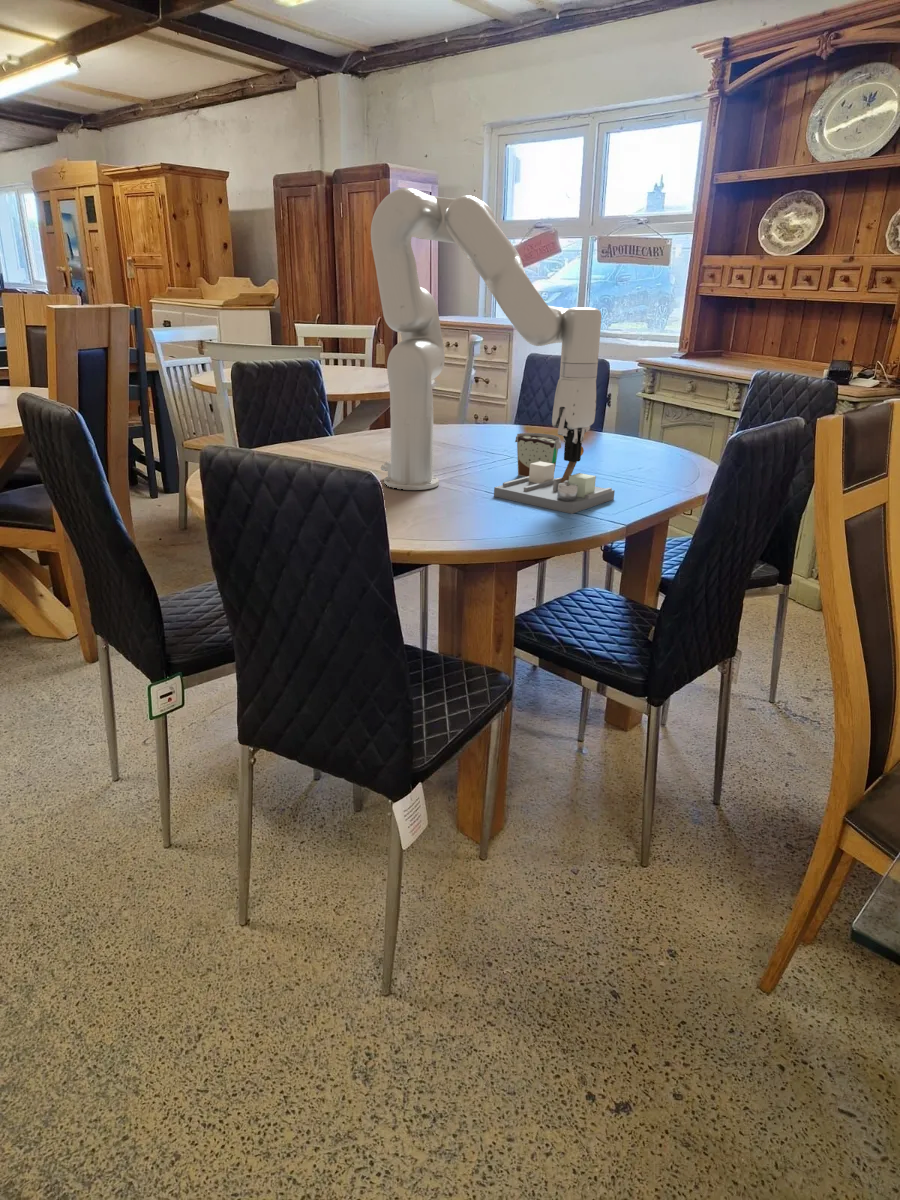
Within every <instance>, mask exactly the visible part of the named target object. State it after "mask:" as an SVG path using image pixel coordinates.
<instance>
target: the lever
mask: <svg viewBox="0 0 900 1200" xmlns="http://www.w3.org/2000/svg"><path fill="white" fill-rule="evenodd" d="M584 451H585V450H584V447H583V446H582V447H581V456H582V455H584ZM576 465H577V462H570V461H568V464H567V466H566V467H565V470H564V473H563V475H562V477H561V478H562V479H561V482H560V483H564V481H566V480H569V476H571V475H573V474H572V473H573V472H574V470H575V468H576Z"/></svg>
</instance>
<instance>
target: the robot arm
mask: <svg viewBox="0 0 900 1200" xmlns="http://www.w3.org/2000/svg"><path fill="white" fill-rule="evenodd" d="M370 225H371V226H370V241H371V250H372V255H373V261H374V265H375V266H374V267H375V271H376V279H377V284H378V290H379V297H380V302H381V303H380V304H381V309H382V316H383V319H384V322H385V323H386V325H387V326H388V328H390V329H391V330H393V331H394V332H397V333H400V336H401V337H400V338H401V341H400V342H398V343H397V344H396V345H394V346H393V348H392V349H390V352H389V354H388V357H387V362H386V363H387V364H386V371H387V372H386V373H387V380H388V385H389V386H388V388H389V408H390V409H389V410H390V414H389V415H390V461H388V460H386V461H385V462H384V464H382V465H381V466H380V470H381V471H384V472H387V476H386V477H385V478H384V479H383V484H384V483H385V484H386V485H387V486H386V485H385V484H384V485H385V486H386V487H388V486H389V487H388V488H390V487H393V488H392V489H394V488H397V489H396V490H401V489H403V490H404V491H425V490H430V489H434V488H437V487H438V486H439V485H440V479H439V478H438V477H436V476H434V475H433V465H434V464H433V457H434V455H433V454H434V451H433V450H434V449H433V448H434V394H433V386H432V380H435V379H436V378H437V377H438V376H439V375H440V374H441V373H442V371H443V369H444V367H445V360H446V359H445V358H446V355H445V353H446V352H445V347H444V340H443V334H442V328H441V321H440V320H441V319H440V314H439V311H438V306H437V303H436V300H435V298H434V296H433V295H432V294H431V292H429V291H428V289H426V288H424V287H421V285H420V280H419V274H418V268H417V262H416V257H415V255H414V251H413V247H412V238H416V239H421V240H427V241H436V242H442V243H450V244H451V243H452V244H456V245H457V247H459V249H460V250H461V252H462V253H463V254H464V255H465V257H466V258H467V260H469V262H470V264H471V265H472V266H473V268H474V269H475V271H477V273H478V275H479V277H481V279H482V280H483V282H485V284H486V286H487V288H488V290H489V293H491V294H492V296H493V297H494V300H495V301H496V303H497V304H498V306H499V307H500V309H501V310H502V312H503V313H504V314H505V316H506V317H507V319H508V321H510V323H511V324H512V326H514V328H515V330H516V331H517V332H518V333H519V335H520V336H521V337H522V339H524V341H526V342H527V343H528V344H530V345H532V346H534V347H535V346H536V347H543V346H547V345H552V344H560V343H561V352H560V353H561V354H560V368H559V379H558V380H557V385H556V388H555V392H554V393H555V394H554V400H553V408H552V416H551V417H552V418H551V423H552V424H551V425H552V427H554V428H558V429H557V435H558V436H562V437H563V442H564V453H563V460H564V461H566V462H569V461H570V462H580V461H581V457H582V455H581V447H583V446H582V444H583V442H584V439H585V434H586V433H587V432H589V431H590V430H591V426H592V425H593V424H594V423H595V419H596V412H597V411H596V409H597V379H598V378H597V376H598V366H599V365H598V363H599V351H600V342H601V341H600V339H601V330H602V313H601V312H602V311H601V310H600V309H598V308H596V307H569V308H564V307H558V306H553V305H548V304H547V302H546V301H545V299H544V298H543V297H542V296H541V294H540V293H539V292H538V290H537V289H536V287H535V286H534V285H533V283H532V281H531V280H530V278H529V277H528V275H527V273H526V271H525V267H524V264H523V260H522V257H521V255H520V254H519V252H518V250H517V249H516V247H515V246H514V245H513V243H512V242H511V241H510V240H509V238H508V237H507V236H506V234H505V233H504V232H503V230H502V229H501V228H500V226H499V225H498V223H497V222H496V221H495V216H494V213H493V210H492V208H491V207H490V206H489V205H488V204H487V203H486V202H484V201H483V200H481V199H479V198H477V197H475V196H472V195H466V194H465V195H461V196H458V197H456V198H450V197H449V198H448V197H442V196H441V197H440V196H437V195H436V196H434V195H429V194H427V193H424V192H422V191H421V190H418V189H416V188H411V187H401V188H398V189H395V190H393V191H392V192H390V193H389V194H387V195H386V196H385V197H384V198H383V199H382V200H381V201H380V203H379V204H378V206H377V207H376V209H375V211H374V213H373V217H372V220H371V224H370ZM403 490H402V491H403Z"/></svg>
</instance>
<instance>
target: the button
mask: <svg viewBox="0 0 900 1200" xmlns="http://www.w3.org/2000/svg"><path fill="white" fill-rule="evenodd" d="M577 491H578V485H577V484H574V483H559V484H558V495H557V499H558V500H560V501H567V502H572V501H576V500H577Z"/></svg>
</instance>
